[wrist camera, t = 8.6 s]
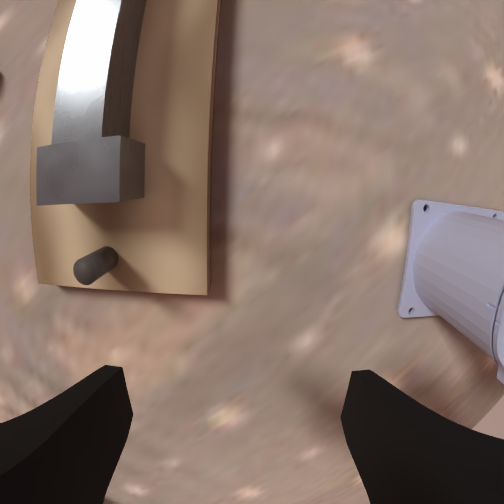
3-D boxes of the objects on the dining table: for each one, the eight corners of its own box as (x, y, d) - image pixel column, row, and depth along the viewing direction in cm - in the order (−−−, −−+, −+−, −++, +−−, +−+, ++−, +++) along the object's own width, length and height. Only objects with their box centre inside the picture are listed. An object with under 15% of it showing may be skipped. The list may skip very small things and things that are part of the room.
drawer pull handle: (178, -73, 11) (170, -101, 8) (144, 197, 16) (119, 202, 13) (116, -60, 11) (101, -84, 8) (70, 200, 16) (36, 205, 13)
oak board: (232, -96, 12) (230, -128, 7) (210, 286, 19) (199, 317, 14) (101, -74, 11) (84, -99, 7) (49, 277, 19) (12, 298, 14)
